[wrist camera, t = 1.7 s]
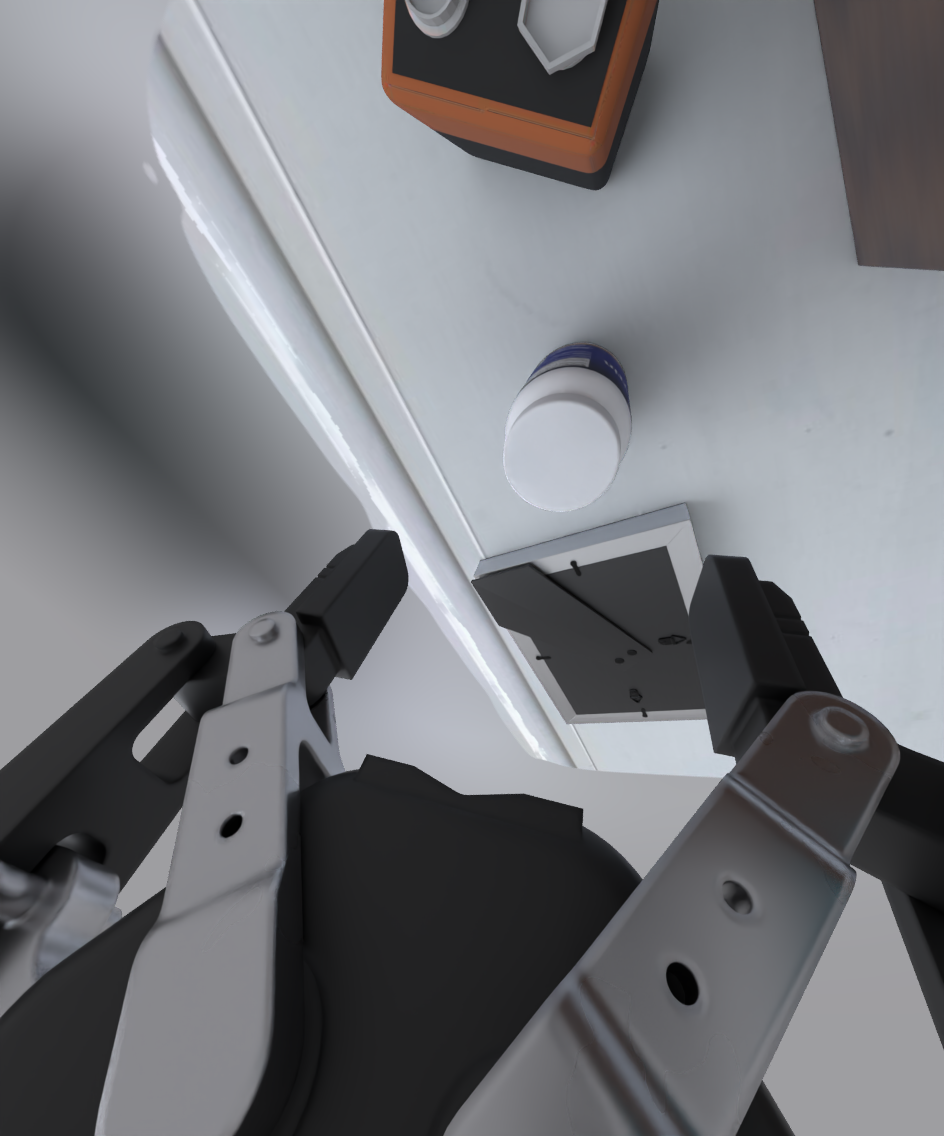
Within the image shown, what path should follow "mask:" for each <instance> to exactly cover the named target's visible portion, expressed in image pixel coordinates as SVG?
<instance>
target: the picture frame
mask: <svg viewBox="0 0 944 1136" xmlns="http://www.w3.org/2000/svg"><path fill="white" fill-rule="evenodd" d="M702 567H703V564H702V560H701V556H700V553H699V549H698V545H697V541H696V538H695V534H694V530H693V527H692V523H691V519H690V516H689V512H688V509H687V505H686V503H683V504H680V505H676V506H673V507H669V508H666V509H662V510H659V511H655V512H651V513H648V514H644V515H641V516H637V517H634V518H630V519H627V520H623V521H620V522H616V523H613V524H609V525H605V526H602V527H598V528H595V529H591V530H588V531H584V532H581V533H577V534H574V535H570V536H567V537H563V538H560V539H556V540H552V541H549V542H545V543H542V544H538V545H535V546H531V547H528V548H524V549H521V550H517V551H514V552H510V553H507V554H503V555H499V556H496V557H492V558H489V559H485V560H482V561H480V562H479V564H478V567H477V569H476V571H475V574H474V578H475V580H472V581H471V583H472V584H473V586H474V588H475V589H476V591H477V592H478V594H479V595H480V597H481V598H482V600H483V602H484V603H485V605H486V606H487V608H488V609H489V611H490V613H491V614H492V616H493V617H494V619H495V620H496V622H497V623H498V625H499V626H501V627H504V628H506V629H507V630H508V632H509V633H510V635H511V636H512V638H513V640H514V641H515V643H516V644H517V646H518V648H519V649H520V651H521V652H522V654H523V656H524V657H525V659H526V660H527V662H528V663H529V665H530V667H531V668H532V670H533V671H534V673H535V675H536V676H537V678H538V679H539V681H540V683H541V684H542V686H543V687H544V689H545V690H546V692H547V694H548V695H549V697H550V698H551V700H552V702H553V703H554V705H555V706H556V708H557V710H558V711H559V713H560V714H561V716H562V717H563V719H564V721H565V722H566V724H585V723H614V722H643V721H672V720H701V719H707V715H706V710H705V705H704V700H703V695H702V690H701V685H700V681H699V676H698V671H697V666H696V661H695V656H694V651H693V646H692V641H691V636H690V631H689V623H688V617H689V608H690V604H691V600H692V597H693V594H694V591H695V588H696V585H697V582H698V579H699V576H700V573H701V570H702Z"/></svg>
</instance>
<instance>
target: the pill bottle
mask: <svg viewBox="0 0 944 1136" xmlns="http://www.w3.org/2000/svg"><path fill="white" fill-rule="evenodd" d="M631 430H632V419H631V411H630V403H629V395H628V386H627V380H626V376H625V372H624V370H623V368H622V366H621V364H620V362H619V361H618V360H617V358H616V357H615V356H614V355H613V354H612V353H611V352H609V351H608V350H606V349H605V348H603V347H601V346H598V345H595V344H591V343H572V344H568V345H565V346H562V347H560V348H558V349H556V350H555V351H553V352H551V353H550V354H549V355H548V356H546V357H545V358H544V359H543V360H542V361H541V362H540V363H539V365H538V366H537V367H536V368H535V370H534V371H533V373H532V374H531V376H530V377H529V379H528V380H527V382H526V383H525V385H524V386H523V388H522V389H521V391H520V392H519V394H518V395H517V397H516V398H515V400H514V402H513V404H512V406H511V408H510V411H509V413H508V417H507V421H506V427H505V440H506V441H505V445H504V450H503V464H504V470H505V474H506V477H507V479H508V481H509V483H510V485H511V486H512V488H513V489H514V490H515V492H516V493H517V494H518V495H519V496H520V497H521V498H523V499H524V500H525V501H526V502H527V503H529V504H531V505H533V506H535V507H538V508H540V509H543V510H547V511H554V512H566V511H573V510H577V509H580V508H583V507H585V506H587V505H589V504H591V503H593V502H594V501H596V500H597V499H598V498H599V497H601V496H602V495H603V494H604V493H605V492H606V491H607V489H608V488H609V487H610V485H611V484H612V482H613V481H614V479H615V477H616V474H617V472H618V469H619V465H620V463H621V461H622V460H623V458H624V456H625V454H626V452H627V449H628V446H629V443H630V438H631Z"/></svg>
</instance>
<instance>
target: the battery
mask: <svg viewBox="0 0 944 1136" xmlns="http://www.w3.org/2000/svg"><path fill="white" fill-rule="evenodd" d="M658 3H659V0H384V15H383V43H382V74H381V77H382V86H383V89H384V91H385V93H386V95H387V96H388V98H389V99H390V100H391V101H392V102H393V103H394V104H396V105H397V106H398V107H400V108H401V109H403V110H404V111H406V112H407V113H409V114H410V115H412V116H413V117H415V118H416V119H418V120H419V121H421V122H422V123H424V124H425V125H427V126H428V127H430V128H431V129H433V130H434V131H436V132H437V133H439V134H440V135H442V136H443V137H445V138H446V139H448V140H449V141H451V142H452V143H454V144H455V145H457V146H458V147H460V148H461V149H462V150H464V151H465V152H467V153H469V154H470V155H472V156H475V157H478V158H482V159H485V160H488V161H492V162H495V163H499V164H502V165H506V166H509V167H513V168H516V169H520V170H523V171H527V172H530V173H534V174H537V175H541V176H544V177H548V178H551V179H555V180H558V181H562V182H565V183H569V184H572V185H576V186H579V187H583V188H587V189H590V190H599V189H601V188H602V187H604V186H605V185H606V183H607V181H608V179H609V176H610V173H611V170H612V167H613V164H614V161H615V158H616V155H617V152H618V148H619V145H620V142H621V139H622V136H623V133H624V130H625V127H626V124H627V121H628V117H629V114H630V111H631V108H632V105H633V102H634V99H635V96H636V93H637V89H638V86H639V83H640V80H641V77H642V74H643V71H644V68H645V65H646V61H647V58H648V55H649V51H650V46H651V41H652V35H653V30H654V25H655V19H656V14H657V8H658Z"/></svg>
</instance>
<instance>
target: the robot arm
mask: <svg viewBox="0 0 944 1136" xmlns="http://www.w3.org/2000/svg"><path fill="white" fill-rule="evenodd" d="M407 586H408V571H407V567H406V563H405V559H404V555H403V551H402V547H401V543H400V539H399V536H398V534H397V533H396V532H395V531H389V530H376V529H369V530H368V531H367V532H366V533H365V534H364V535H363V536H362V537H361V538H360V539H359V541H357V543H356V544H355V545H351V546H349V547H348V548H346V549H345V550H343V551H341V552H340V553H338V554H337V555H336V556H335V557H334V558H333V559H332V560H331V561H330V563H329V564H328V565H327V568H324V569H323V570H322V571H321V572H320V573H319V574H318V578H315V579H314V580H313V581H312V582H311V583H310V584H309V585H308V586H307V587H306V589H305V590H304V591H303V592H302V593H301V594H300V595H299V596H298V597H297V598H296V599H295V600H294V601H293V603H292V604H291V605H290V606H289V607H288V608H287V609H286V610H285V611H284V612H282V611H277V612H270V613H266V614H263V615H260V616H258V617H256V618H254V619H252V620H251V621H249V622H248V623H247V624H245V625H244V626H243V627H242V628H241V629H240V630H239V631H238V632H237V633H235V634H227V635H218V636H211V635H210V634H209V633H208V631H207V630H206V628H205V627H204V626H203V625H202V624H201V623H199V622H196V621H186V622H181V623H177V624H174V625H172V626H169V627H167V628H165V629H163V630H161V631H160V632H158V633H156V634H155V635H154V636H152V637H151V638H150V639H149V640H147V641H146V642H145V643H144V644H143V645H142V646H141V647H139V648H138V649H137V650H136V651H135V652H134V653H133V654H131V655H130V656H129V657H128V658H127V659H126V660H125V661H124V662H123V663H121V664H120V665H119V666H118V667H117V668H116V669H114V670H113V671H112V672H111V673H110V674H109V675H108V676H107V677H105V678H104V679H103V680H102V681H101V682H100V683H99V684H97V685H96V686H95V687H94V688H93V689H92V690H91V691H90V692H88V694H86V695H85V696H84V697H83V698H82V699H80V700H79V701H78V702H77V703H76V704H75V705H74V706H73V707H71V708H70V709H69V710H68V711H67V712H66V713H65V714H63V715H62V716H61V717H60V718H59V719H58V720H57V721H56V722H54V723H53V724H52V725H51V726H50V727H49V728H48V729H46V730H45V731H44V732H43V733H42V734H41V735H40V736H38V737H37V738H36V739H35V740H34V741H33V742H32V743H31V744H30V745H29V746H27V747H26V748H25V749H24V750H23V751H21V752H20V753H19V754H18V755H17V756H16V757H15V758H14V759H12V760H11V761H10V762H9V763H8V764H7V765H6V766H4V767H3V768H2V769H1V770H0V1136H795V1135H794V1133H793V1131H792V1130H791V1128H790V1126H789V1125H788V1123H787V1121H786V1119H785V1118H784V1116H783V1114H782V1113H781V1111H780V1109H779V1108H778V1106H777V1104H776V1102H775V1101H774V1099H773V1097H772V1096H771V1094H770V1092H769V1091H768V1089H767V1087H766V1086H765V1084H764V1082H763V1080H762V1079H763V1077H764V1075H765V1073H766V1071H767V1068H768V1066H769V1064H770V1062H771V1060H772V1058H773V1056H774V1054H775V1052H776V1050H777V1048H778V1046H779V1044H780V1041H781V1039H782V1037H783V1035H784V1033H785V1031H786V1029H787V1027H788V1025H789V1022H790V1021H791V1018H792V1016H793V1014H794V1012H795V1010H796V1008H797V1006H798V1004H799V1002H800V1000H801V998H802V996H803V993H804V991H805V989H806V987H807V985H808V983H809V981H810V979H811V977H812V975H813V973H814V970H815V968H816V966H817V964H818V962H819V960H820V958H821V956H822V954H823V952H824V950H825V948H826V945H827V943H828V941H829V939H830V937H831V935H832V933H833V931H834V929H835V927H836V924H837V922H838V920H839V918H840V916H841V914H842V912H843V910H844V908H845V906H846V904H847V902H848V899H849V897H850V895H851V893H852V890H853V888H854V885H855V881H856V871H855V870H854V869H853V868H851V867H850V864H851V865H853V866H855V867H857V868H859V869H861V870H862V871H864V872H866V873H868V874H870V875H872V876H874V877H876V878H878V879H880V880H881V881H882V884H883V886H884V889H885V892H886V895H887V898H888V900H889V903H890V905H891V908H892V911H893V914H894V917H895V919H896V922H897V925H898V927H899V930H900V933H901V935H902V938H903V941H904V944H905V946H906V949H907V951H908V954H909V957H910V960H911V962H912V965H913V968H914V971H915V973H916V976H917V979H918V981H919V984H920V986H921V989H922V992H923V995H924V997H925V1000H926V1003H927V1006H928V1008H929V1011H930V1014H931V1016H932V1019H933V1022H934V1025H935V1027H936V1030H937V1033H938V1035H939V1038H940V1041H941V1043H942V1046H943V1049H944V762H941V761H939V760H936V759H934V758H931V757H928V756H926V755H923V754H921V753H918V752H915V751H913V750H910V749H908V748H906V747H903V746H901V745H899V744H897V742H896V741H895V739H894V737H893V736H892V734H891V733H890V731H889V730H888V729H887V728H886V727H885V726H884V725H883V724H882V723H881V722H880V721H879V720H878V719H877V718H876V717H874V716H873V715H872V714H871V713H869V712H868V711H866V710H865V709H863V708H862V707H860V706H858V705H857V704H855V703H853V702H851V701H849V700H847V699H844V698H843V697H842V695H841V693H840V691H839V689H838V687H837V685H836V683H835V681H834V679H833V677H832V675H831V673H830V672H829V670H828V668H827V666H826V664H825V662H824V660H823V658H822V656H821V654H820V652H819V650H818V648H817V646H816V645H815V643H814V641H813V639H812V637H811V636H809V631H808V629H807V627H806V625H805V623H804V621H801V616H800V614H799V612H798V610H797V608H796V606H795V604H794V602H793V600H792V598H791V597H789V596H788V595H787V594H786V593H785V592H784V591H782V590H781V589H780V588H779V587H778V586H777V585H776V584H774V583H773V582H770V581H759V580H758V578H757V576H756V574H755V571H754V569H753V567H752V565H751V562H750V561H749V559H748V558H746V557H735V556H721V555H708V556H707V557H706V559H705V561H704V564H703V567H702V570H701V573H700V576H699V579H698V582H697V585H696V588H695V591H694V594H693V597H692V600H691V604H690V608H689V617H688V623H689V631H690V636H691V641H692V646H693V651H694V656H695V661H696V666H697V671H698V676H699V681H700V685H701V690H702V695H703V700H704V705H705V710H706V715H707V720H708V725H709V730H710V735H711V740H712V745H713V750H714V753H718V754H723V755H728V756H733V757H735V760H736V766H735V767H734V768H733V769H732V771H731V772H730V773H727V774H726V775H725V776H724V778H723V779H722V780H721V781H720V782H719V784H718V785H717V786H716V787H715V789H714V790H713V791H712V792H711V794H710V795H709V796H708V798H707V799H706V800H705V802H704V803H703V804H702V805H701V806H700V808H699V809H698V810H697V812H696V813H695V814H694V815H693V817H692V818H691V819H690V821H689V822H688V823H687V824H686V825H685V827H684V828H683V829H682V831H681V832H680V833H679V834H678V836H677V837H676V838H675V840H674V841H673V842H672V843H671V845H670V846H669V847H668V848H667V850H666V851H665V852H664V854H663V855H662V856H661V857H660V858H659V860H658V861H657V862H656V864H655V865H654V866H653V867H652V869H651V870H650V871H649V873H648V874H647V875H646V876H645V878H644V879H642V878H641V877H640V875H639V874H638V873H637V871H635V869H634V868H633V867H632V866H631V865H630V864H629V863H628V861H627V860H626V859H625V858H624V857H623V856H622V855H621V854H620V853H619V852H618V851H617V850H615V849H614V848H613V847H612V846H611V845H610V844H609V843H607V842H606V841H605V840H603V839H602V838H600V837H599V836H598V835H597V834H595V833H593V832H592V831H590V830H589V829H587V828H585V827H584V826H582V823H583V809H582V808H578V807H574V806H570V805H566V804H562V803H558V802H554V801H550V800H546V799H542V798H538V797H534V796H530V795H526V794H494V795H463V794H460V793H458V792H456V791H454V790H452V789H451V788H449V787H447V786H446V785H444V784H442V783H441V782H439V781H438V780H436V779H434V778H433V777H431V776H430V775H428V774H426V773H424V772H423V771H421V770H419V769H418V768H416V767H415V766H412V765H408V764H404V763H400V762H396V761H392V760H388V759H384V758H380V757H376V756H373V755H369V754H367V755H366V757H365V759H364V761H363V763H362V765H361V767H360V769H358V770H352V771H346V772H345V769H344V766H343V763H342V760H341V757H340V753H339V746H338V738H337V728H336V721H335V711H334V702H333V693H332V689H331V687H330V683H331V682H332V680H333V679H334V677H340V678H345V679H350V680H352V679H353V677H354V675H355V674H356V672H357V670H358V669H359V667H360V666H361V664H362V662H363V661H364V659H365V658H366V656H367V654H368V653H369V651H370V649H371V648H372V646H373V645H374V643H375V641H376V640H377V638H378V636H379V635H380V633H381V632H382V630H383V628H384V627H385V625H386V623H387V622H388V620H389V619H390V616H391V615H392V614H393V612H394V610H395V609H396V607H397V605H398V604H399V602H400V601H401V599H402V597H403V596H404V594H405V592H406V590H407ZM173 697H174V699H175V700H176V701H177V702H178V703H179V704H180V705H181V706H182V707H183V708H184V709H185V710H186V711H185V712H184V713H183V714H182V715H181V716H180V717H179V719H178V720H177V721H176V722H175V723H174V724H173V725H172V727H171V728H170V729H169V730H168V731H167V732H166V734H165V735H164V736H163V737H162V738H161V739H160V740H159V741H158V743H157V744H156V745H155V746H154V747H153V748H152V749H151V751H150V752H149V753H148V754H147V755H146V757H144V759H143V760H142V761H141V762H139V761H137V760H136V759H135V758H134V757H133V754H132V747H133V743H134V741H135V739H136V737H137V736H138V735H139V733H140V732H141V731H142V730H143V729H144V728H145V727H146V726H147V725H148V724H149V723H150V721H151V720H152V719H153V718H154V717H155V716H156V715H157V714H158V713H159V712H160V711H161V710H162V709H163V707H164V706H165V705H166V704H167V703H168V702H169V701H170V700H171V699H172V698H173ZM182 806H183V807H182ZM181 808H182V812H181V817H180V822H179V827H178V832H177V837H176V842H175V846H174V851H173V856H172V861H171V866H170V871H169V876H168V881H167V885H166V887H165V888H164V889H162V890H161V891H160V892H158V893H157V894H155V895H154V896H153V897H151V898H150V899H148V900H147V901H145V902H144V903H143V904H141V905H140V906H139V907H137V908H136V909H134V910H133V911H132V912H130V913H129V914H127V915H126V916H124V917H123V918H122V912H121V910H120V909H119V908H117V907H115V904H116V901H117V898H118V894H119V893H120V892H121V890H122V889H123V888H124V886H125V885H126V883H127V882H128V881H129V879H130V878H131V877H132V875H133V874H134V872H135V871H136V870H137V868H138V867H139V865H140V864H141V863H142V861H143V860H144V859H145V857H146V856H147V855H148V853H149V852H150V850H151V849H152V848H153V846H154V845H155V843H156V842H157V841H158V839H159V838H160V836H161V835H162V834H163V833H164V831H165V830H166V828H167V827H168V826H169V824H170V823H171V822H172V820H173V819H174V817H175V816H176V814H177V813H178V812H179V810H180V809H181Z"/></svg>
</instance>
